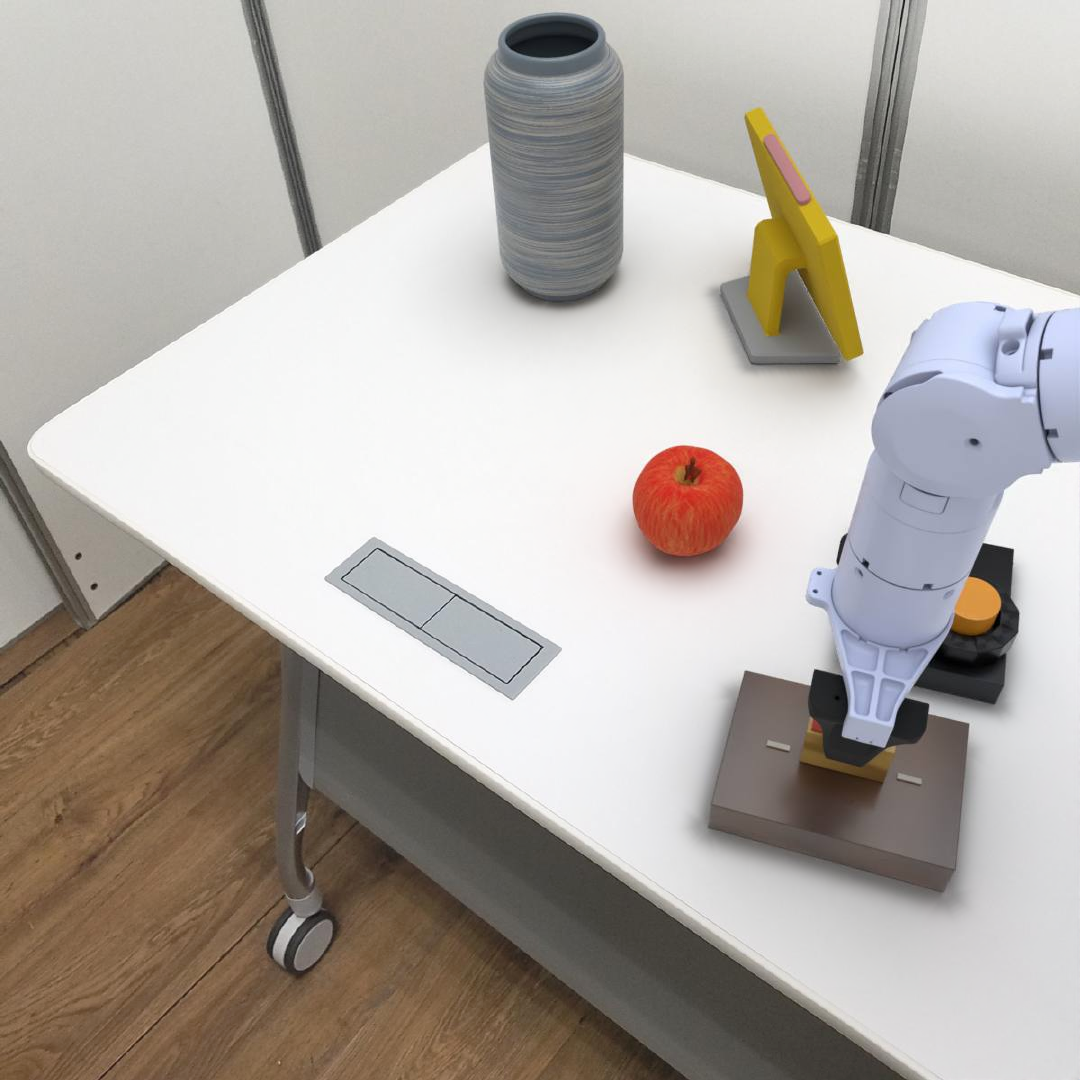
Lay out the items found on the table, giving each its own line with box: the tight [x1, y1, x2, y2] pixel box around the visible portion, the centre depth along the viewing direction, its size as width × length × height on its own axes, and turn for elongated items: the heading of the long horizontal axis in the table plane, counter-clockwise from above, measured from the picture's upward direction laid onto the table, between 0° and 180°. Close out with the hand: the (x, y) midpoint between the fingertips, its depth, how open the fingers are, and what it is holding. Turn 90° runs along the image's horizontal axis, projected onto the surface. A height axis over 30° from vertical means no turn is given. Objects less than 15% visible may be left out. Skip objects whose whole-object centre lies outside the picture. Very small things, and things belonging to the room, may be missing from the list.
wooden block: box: [800, 716, 896, 783], centre depth 65 cm, size 5×1×4 cm, turn 71°
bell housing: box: [913, 542, 1020, 705], centre depth 75 cm, size 10×12×4 cm
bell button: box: [950, 577, 1001, 636], centre depth 72 cm, size 4×4×2 cm
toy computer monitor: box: [719, 106, 865, 364], centre depth 93 cm, size 20×8×16 cm, turn 9°
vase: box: [482, 11, 625, 302], centre depth 97 cm, size 12×12×23 cm
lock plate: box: [707, 669, 970, 893], centre depth 67 cm, size 14×10×3 cm
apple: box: [631, 444, 744, 557], centre depth 80 cm, size 8×8×8 cm
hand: (854, 698), depth 61 cm, fingers open, 7 cm apart
